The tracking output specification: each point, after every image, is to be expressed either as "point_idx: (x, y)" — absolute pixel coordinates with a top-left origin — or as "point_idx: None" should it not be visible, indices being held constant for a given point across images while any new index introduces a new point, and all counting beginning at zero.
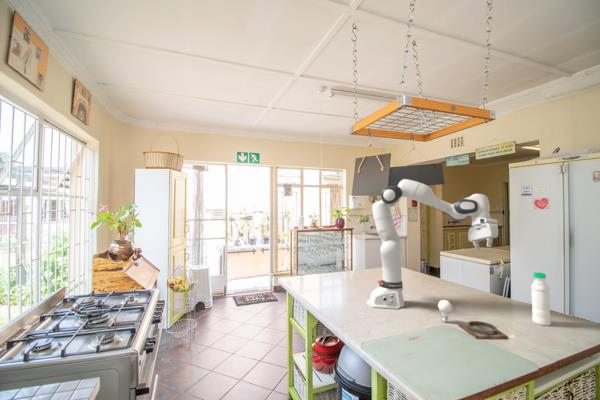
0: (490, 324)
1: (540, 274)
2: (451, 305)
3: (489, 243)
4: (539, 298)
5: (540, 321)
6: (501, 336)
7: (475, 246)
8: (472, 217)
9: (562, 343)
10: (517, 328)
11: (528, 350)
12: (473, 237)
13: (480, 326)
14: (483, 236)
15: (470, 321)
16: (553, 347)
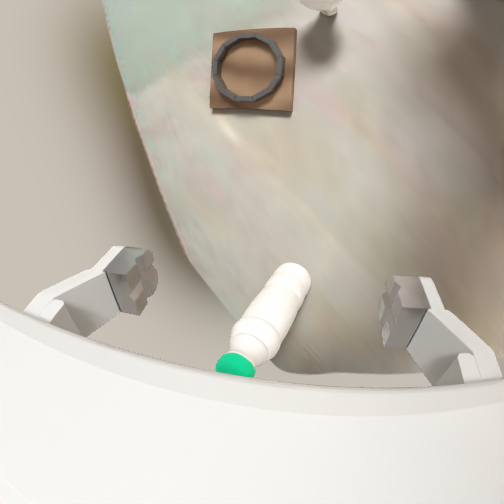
0: (253, 97)
1: (217, 365)
2: (305, 3)
3: (99, 290)
4: (252, 303)
5: (278, 268)
6: (211, 92)
7: (422, 296)
8: None
9: (193, 210)
10: (269, 184)
11: (168, 113)
12: (481, 441)
13: (269, 76)
14: (42, 344)
15: (278, 53)
16: (178, 175)
